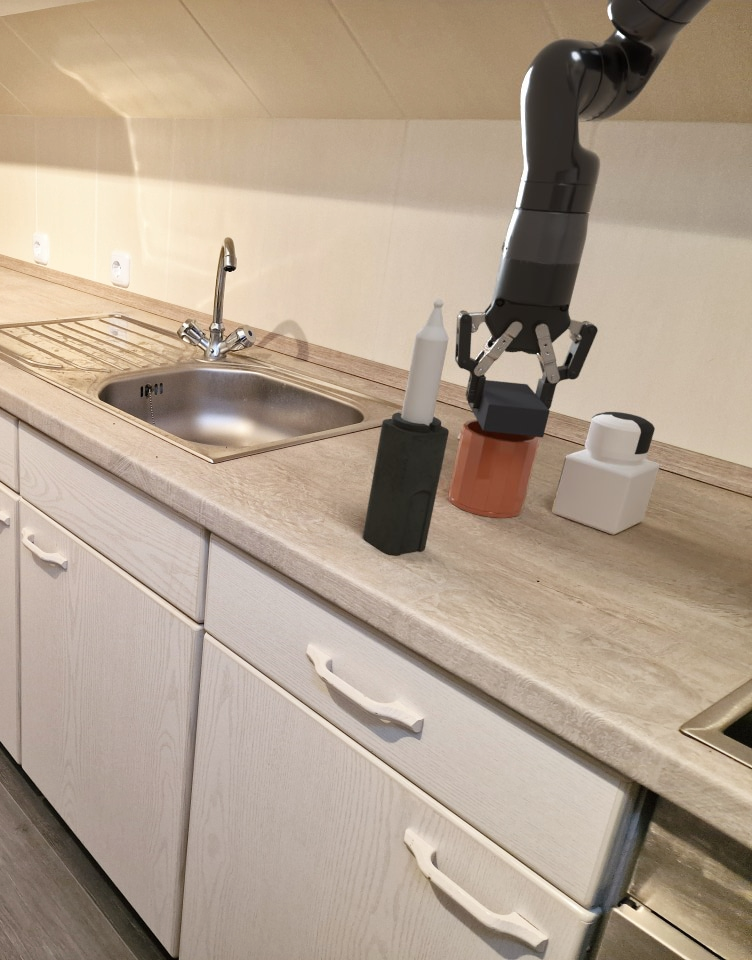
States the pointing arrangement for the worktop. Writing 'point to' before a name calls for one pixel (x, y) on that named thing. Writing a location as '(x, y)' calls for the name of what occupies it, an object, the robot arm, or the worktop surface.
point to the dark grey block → (511, 409)
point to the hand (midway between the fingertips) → (505, 409)
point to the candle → (410, 452)
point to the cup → (492, 471)
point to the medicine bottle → (609, 474)
